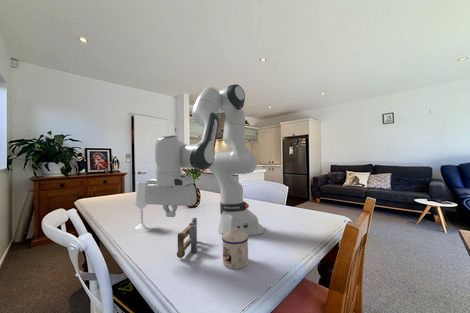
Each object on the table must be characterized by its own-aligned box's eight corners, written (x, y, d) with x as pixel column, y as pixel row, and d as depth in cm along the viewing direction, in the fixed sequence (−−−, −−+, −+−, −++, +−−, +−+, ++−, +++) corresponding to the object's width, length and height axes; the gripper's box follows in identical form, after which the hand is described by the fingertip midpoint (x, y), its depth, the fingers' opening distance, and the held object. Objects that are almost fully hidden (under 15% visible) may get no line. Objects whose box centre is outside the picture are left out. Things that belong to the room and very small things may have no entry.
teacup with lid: (218, 259, 70) (218, 226, 70) (241, 253, 73) (241, 222, 73) (231, 277, 58) (230, 238, 59) (258, 270, 62) (257, 233, 62)
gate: (189, 242, 82) (189, 222, 83) (195, 242, 82) (195, 222, 82) (176, 258, 70) (176, 234, 70) (183, 258, 69) (183, 234, 69)
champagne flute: (149, 227, 104) (149, 182, 104) (135, 230, 100) (135, 183, 100) (147, 224, 109) (147, 181, 110) (134, 226, 106) (133, 182, 106)
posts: (199, 240, 86) (199, 217, 86) (196, 252, 75) (196, 226, 75) (192, 240, 86) (192, 217, 86) (188, 253, 74) (187, 226, 75)
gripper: (139, 180, 72) (141, 217, 73) (189, 181, 67) (191, 221, 67) (151, 178, 78) (152, 212, 79) (197, 178, 73) (199, 215, 73)
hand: (170, 216), depth 73 cm, fingers closed
